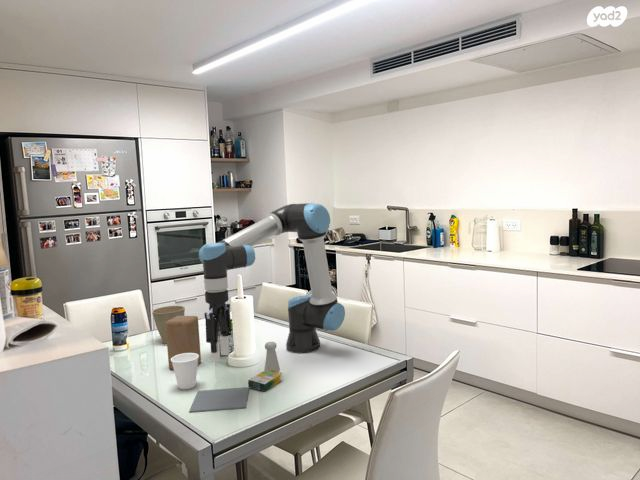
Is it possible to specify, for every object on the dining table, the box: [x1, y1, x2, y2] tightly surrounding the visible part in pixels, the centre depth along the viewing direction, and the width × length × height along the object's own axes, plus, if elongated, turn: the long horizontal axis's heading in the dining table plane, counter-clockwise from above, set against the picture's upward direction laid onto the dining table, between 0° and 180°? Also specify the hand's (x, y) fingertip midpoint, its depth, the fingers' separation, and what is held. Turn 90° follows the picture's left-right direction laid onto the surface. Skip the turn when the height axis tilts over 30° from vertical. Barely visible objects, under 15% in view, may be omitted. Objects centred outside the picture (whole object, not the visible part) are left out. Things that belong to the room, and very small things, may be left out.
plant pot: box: [151, 305, 186, 345], centre depth 231 cm, size 15×15×16 cm
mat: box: [188, 386, 250, 413], centre depth 162 cm, size 18×16×1 cm
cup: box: [171, 353, 199, 390], centre depth 175 cm, size 10×10×11 cm
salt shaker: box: [263, 341, 281, 373], centre depth 181 cm, size 6×6×13 cm
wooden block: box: [166, 315, 202, 370], centre depth 196 cm, size 10×10×20 cm
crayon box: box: [247, 370, 283, 392], centre depth 174 cm, size 7×3×12 cm
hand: (220, 357), depth 161 cm, fingers open, 6 cm apart
